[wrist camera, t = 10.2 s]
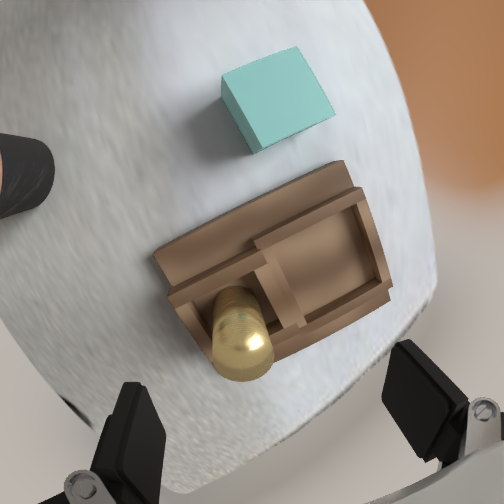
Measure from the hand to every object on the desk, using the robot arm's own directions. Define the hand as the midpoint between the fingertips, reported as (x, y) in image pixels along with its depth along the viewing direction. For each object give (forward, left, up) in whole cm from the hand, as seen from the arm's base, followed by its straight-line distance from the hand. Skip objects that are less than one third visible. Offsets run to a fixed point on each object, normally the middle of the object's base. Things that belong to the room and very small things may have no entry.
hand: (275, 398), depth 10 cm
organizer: (+3, +3, -18) cm, 18 cm away
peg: (+3, -2, -16) cm, 16 cm away
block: (-11, +8, -18) cm, 23 cm away
